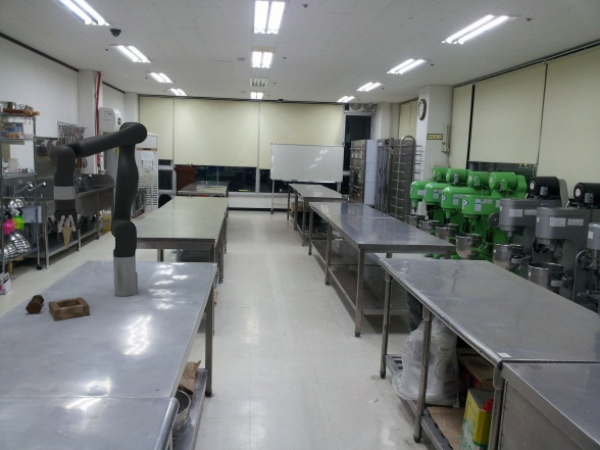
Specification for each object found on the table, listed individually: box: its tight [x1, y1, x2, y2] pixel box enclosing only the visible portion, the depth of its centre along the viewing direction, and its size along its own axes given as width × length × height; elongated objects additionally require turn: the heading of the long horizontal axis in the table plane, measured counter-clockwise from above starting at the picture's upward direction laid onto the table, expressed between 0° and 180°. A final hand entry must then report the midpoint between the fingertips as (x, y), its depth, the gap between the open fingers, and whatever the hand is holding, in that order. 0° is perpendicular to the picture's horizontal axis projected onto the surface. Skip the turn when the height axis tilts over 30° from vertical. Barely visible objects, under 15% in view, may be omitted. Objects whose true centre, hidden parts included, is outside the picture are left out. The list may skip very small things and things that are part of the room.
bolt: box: [25, 294, 45, 315], centre depth 189 cm, size 6×5×15 cm
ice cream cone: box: [59, 218, 75, 253], centre depth 187 cm, size 6×6×15 cm
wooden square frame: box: [48, 296, 90, 322], centre depth 184 cm, size 12×12×4 cm
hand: (66, 240), depth 188 cm, fingers closed on ice cream cone, 3 cm apart
